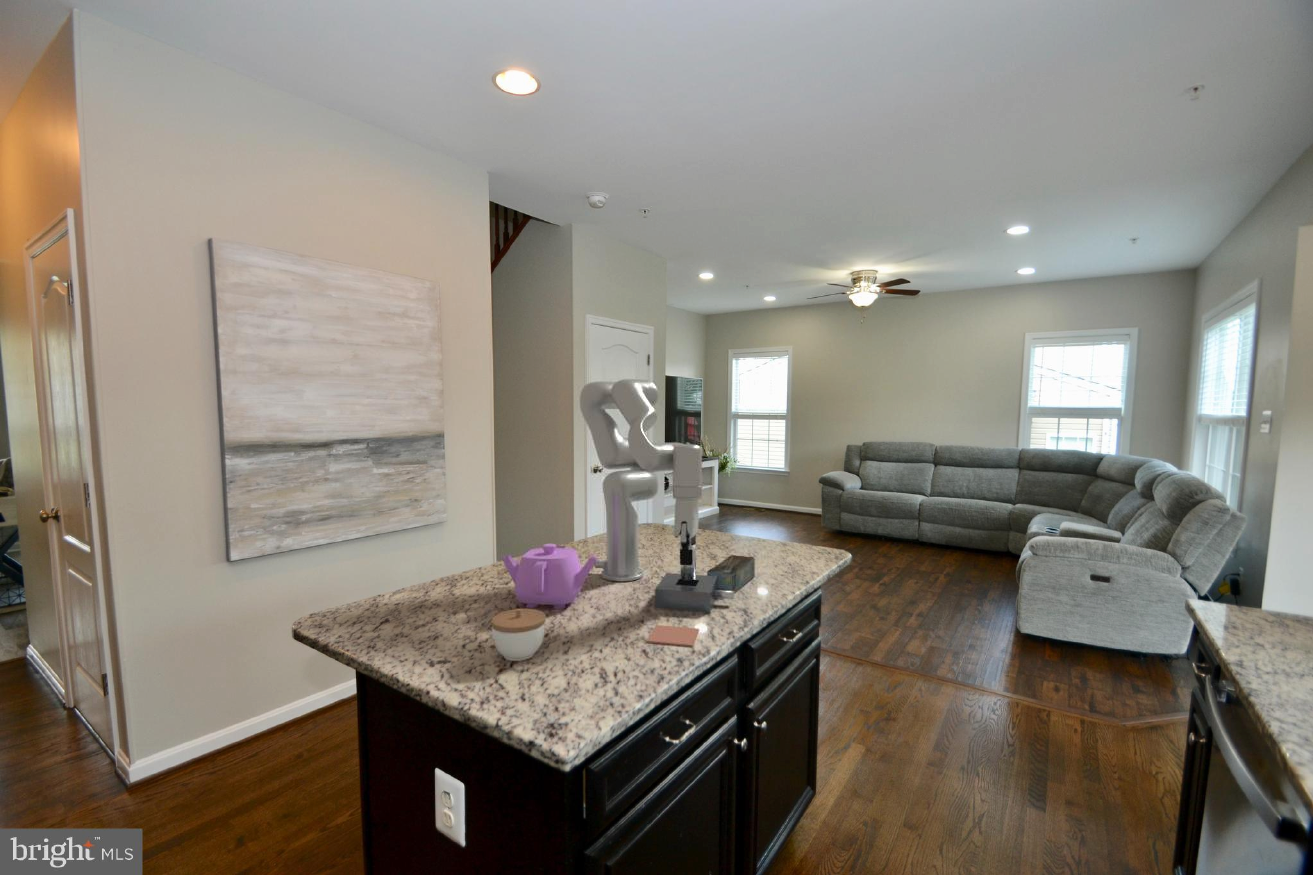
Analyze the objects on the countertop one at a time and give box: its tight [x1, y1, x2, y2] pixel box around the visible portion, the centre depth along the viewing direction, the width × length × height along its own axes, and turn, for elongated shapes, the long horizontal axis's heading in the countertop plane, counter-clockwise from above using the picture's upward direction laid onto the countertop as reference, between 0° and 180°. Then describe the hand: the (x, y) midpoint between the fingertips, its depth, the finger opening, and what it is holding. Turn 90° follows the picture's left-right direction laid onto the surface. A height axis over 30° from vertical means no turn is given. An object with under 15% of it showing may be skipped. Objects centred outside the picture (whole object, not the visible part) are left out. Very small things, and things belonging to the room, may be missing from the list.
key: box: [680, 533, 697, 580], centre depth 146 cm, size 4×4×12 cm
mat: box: [646, 624, 700, 648], centre depth 125 cm, size 10×9×1 cm
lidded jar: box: [490, 608, 546, 662], centre depth 115 cm, size 11×11×9 cm
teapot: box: [501, 543, 598, 610], centre depth 147 cm, size 19×18×15 cm
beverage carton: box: [706, 554, 756, 594], centre depth 162 cm, size 8×19×7 cm, turn 151°
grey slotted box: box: [654, 572, 735, 614], centre depth 146 cm, size 19×14×5 cm
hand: (687, 561), depth 146 cm, fingers closed on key, 4 cm apart
